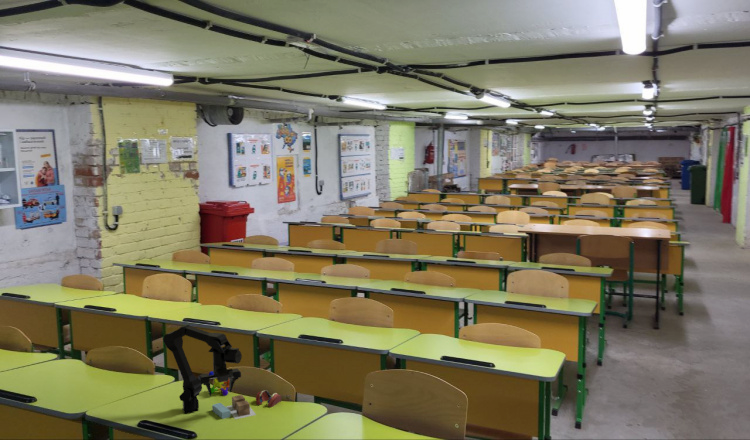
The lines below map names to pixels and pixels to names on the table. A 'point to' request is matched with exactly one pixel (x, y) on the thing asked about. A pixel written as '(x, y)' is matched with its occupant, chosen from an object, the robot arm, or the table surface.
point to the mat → (237, 414)
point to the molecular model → (218, 384)
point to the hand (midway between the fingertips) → (220, 393)
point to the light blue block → (221, 410)
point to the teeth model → (267, 398)
